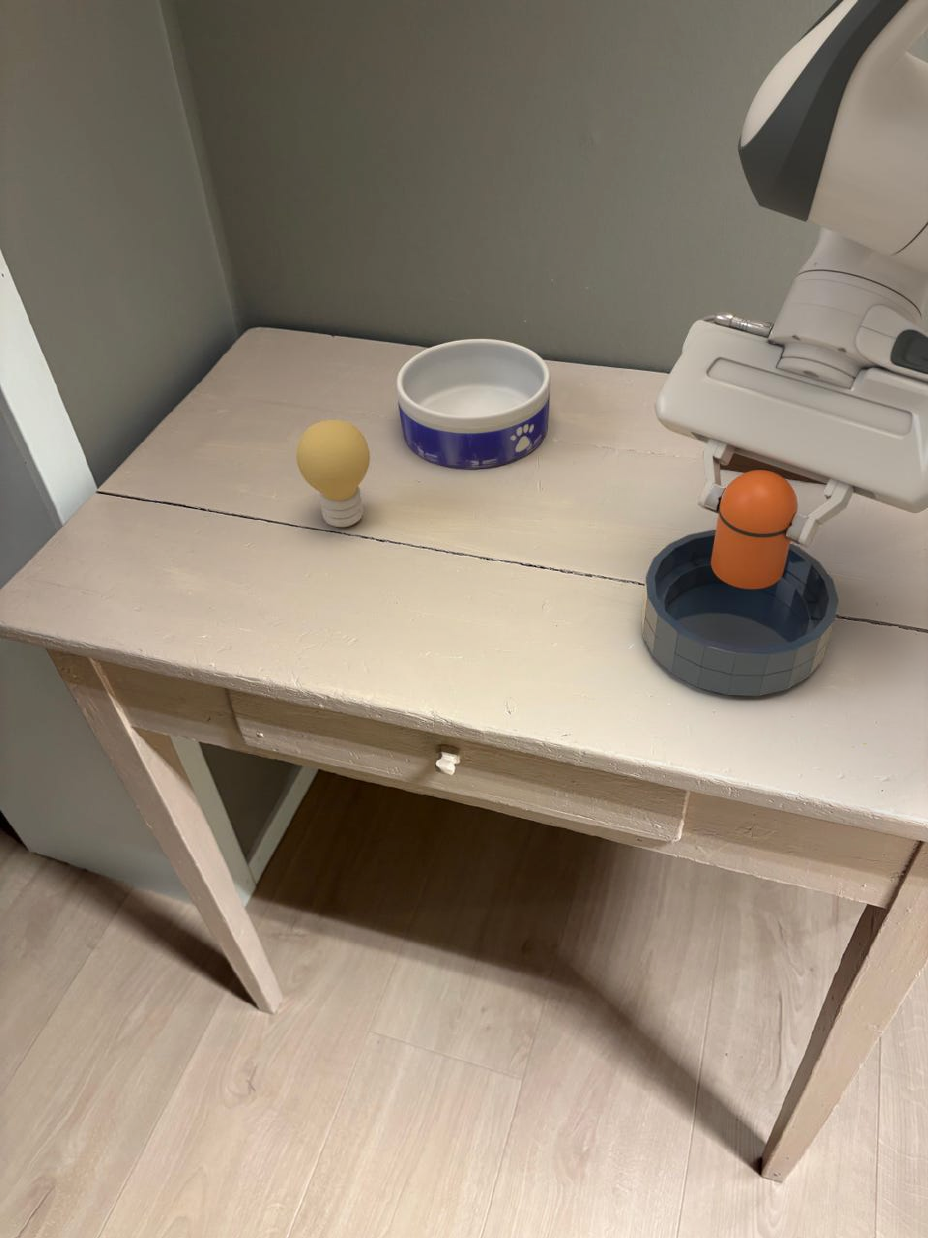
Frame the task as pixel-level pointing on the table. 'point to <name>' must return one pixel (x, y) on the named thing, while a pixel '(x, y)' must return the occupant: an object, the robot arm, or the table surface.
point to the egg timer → (753, 530)
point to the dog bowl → (474, 403)
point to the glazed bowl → (736, 620)
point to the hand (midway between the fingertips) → (752, 526)
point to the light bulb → (335, 468)
